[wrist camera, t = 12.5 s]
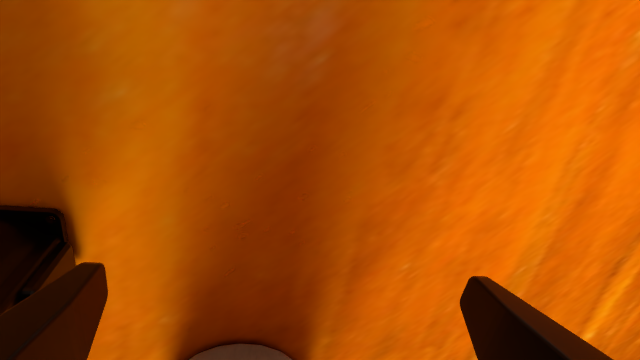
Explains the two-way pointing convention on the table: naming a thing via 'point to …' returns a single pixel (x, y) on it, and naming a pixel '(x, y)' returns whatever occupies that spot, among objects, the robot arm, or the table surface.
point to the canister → (241, 353)
